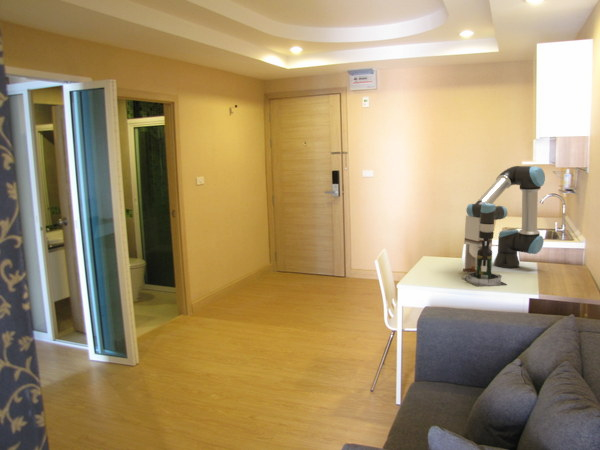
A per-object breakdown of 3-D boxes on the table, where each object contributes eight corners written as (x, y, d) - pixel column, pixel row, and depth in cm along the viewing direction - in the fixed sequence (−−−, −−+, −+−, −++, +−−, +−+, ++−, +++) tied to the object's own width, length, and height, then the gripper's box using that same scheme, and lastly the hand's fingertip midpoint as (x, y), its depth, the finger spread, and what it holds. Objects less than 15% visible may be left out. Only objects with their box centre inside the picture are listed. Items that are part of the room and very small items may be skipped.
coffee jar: (476, 278, 291) (478, 246, 289) (491, 279, 288) (493, 247, 285) (474, 281, 283) (476, 249, 280) (489, 283, 279) (491, 250, 277)
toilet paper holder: (462, 271, 308) (465, 215, 303) (476, 270, 312) (479, 214, 307) (476, 276, 298) (479, 217, 293) (489, 274, 302) (493, 216, 297)
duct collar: (491, 276, 296) (492, 271, 296) (509, 285, 279) (509, 278, 278) (459, 278, 293) (459, 272, 292) (474, 286, 275) (475, 280, 275)
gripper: (479, 227, 294) (477, 264, 297) (478, 233, 271) (476, 273, 275) (493, 228, 291) (490, 265, 294) (493, 234, 269) (491, 274, 272)
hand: (483, 269), depth 284 cm, fingers open, 11 cm apart
